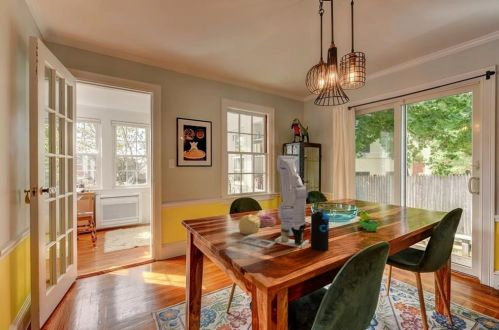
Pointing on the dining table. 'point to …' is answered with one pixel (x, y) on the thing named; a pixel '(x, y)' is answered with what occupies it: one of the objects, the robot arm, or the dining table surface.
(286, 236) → the plain peg
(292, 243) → the flanged base plate
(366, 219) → the green lumpy piece
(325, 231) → the aerosol can
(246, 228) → the sculpture
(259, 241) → the pin block
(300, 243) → the banded peg
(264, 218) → the donut
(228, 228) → the dining table surface
